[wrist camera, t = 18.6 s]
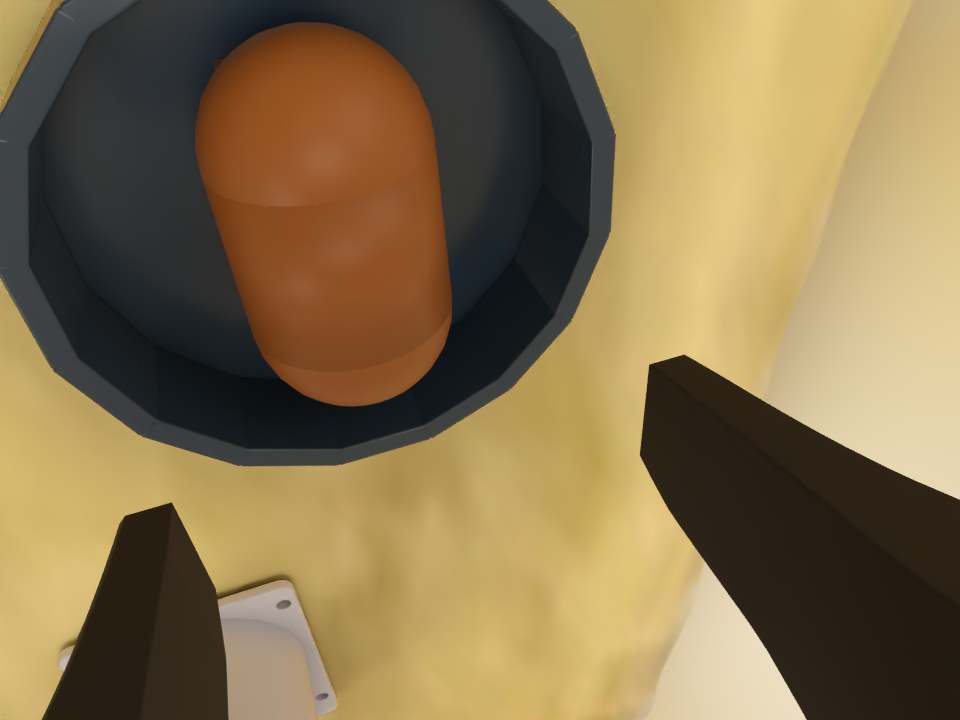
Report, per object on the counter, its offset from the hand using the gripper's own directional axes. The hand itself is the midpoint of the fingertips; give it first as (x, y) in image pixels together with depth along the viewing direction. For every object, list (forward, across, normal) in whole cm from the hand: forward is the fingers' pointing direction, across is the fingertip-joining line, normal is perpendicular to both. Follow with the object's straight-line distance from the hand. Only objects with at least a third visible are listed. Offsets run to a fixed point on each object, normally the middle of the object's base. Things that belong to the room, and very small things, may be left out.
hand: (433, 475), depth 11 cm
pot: (+10, 0, 0) cm, 10 cm away
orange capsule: (+10, 0, 0) cm, 10 cm away
